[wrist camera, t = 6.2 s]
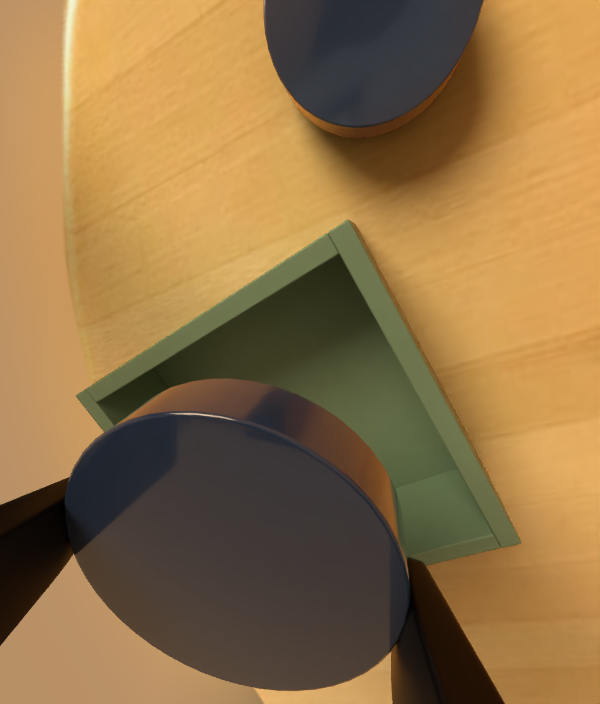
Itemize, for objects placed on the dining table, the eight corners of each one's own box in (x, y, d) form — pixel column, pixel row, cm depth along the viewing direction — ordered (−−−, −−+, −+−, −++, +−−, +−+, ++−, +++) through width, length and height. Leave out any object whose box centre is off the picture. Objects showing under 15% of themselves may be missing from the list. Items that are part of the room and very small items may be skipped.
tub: (269, 532, 23) (244, 609, 18) (143, 358, 20) (74, 396, 16) (482, 464, 18) (522, 544, 14) (354, 223, 16) (348, 218, 11)
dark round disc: (233, 605, 11) (195, 707, 8) (91, 429, 9) (1, 493, 7) (451, 549, 8) (482, 670, 6) (300, 303, 7) (266, 337, 5)
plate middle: (334, 179, 15) (328, 170, 13) (248, 17, 14) (223, -27, 11) (498, 65, 13) (526, 27, 10) (413, -146, 11) (424, -242, 9)
